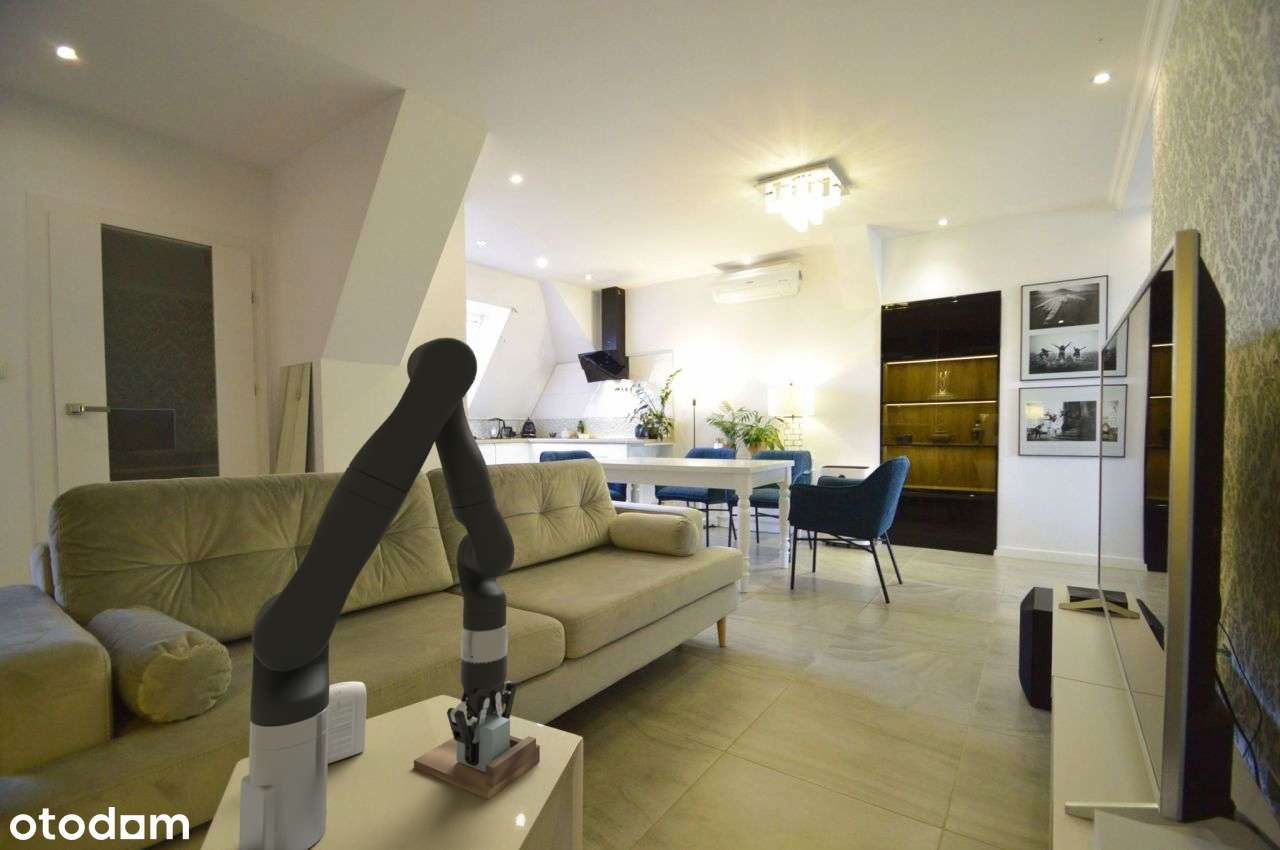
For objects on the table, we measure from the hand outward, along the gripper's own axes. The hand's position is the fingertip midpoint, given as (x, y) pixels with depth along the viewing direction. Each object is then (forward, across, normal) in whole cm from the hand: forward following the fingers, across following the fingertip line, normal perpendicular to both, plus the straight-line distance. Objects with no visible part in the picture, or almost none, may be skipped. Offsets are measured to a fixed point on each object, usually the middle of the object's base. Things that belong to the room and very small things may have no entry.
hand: (483, 756), depth 92 cm
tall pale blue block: (+1, 0, 0) cm, 1 cm away
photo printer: (+3, -10, +25) cm, 27 cm away
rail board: (+2, +1, +2) cm, 3 cm away
